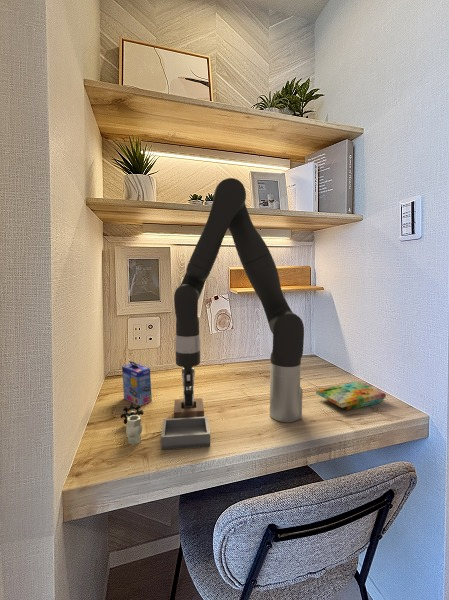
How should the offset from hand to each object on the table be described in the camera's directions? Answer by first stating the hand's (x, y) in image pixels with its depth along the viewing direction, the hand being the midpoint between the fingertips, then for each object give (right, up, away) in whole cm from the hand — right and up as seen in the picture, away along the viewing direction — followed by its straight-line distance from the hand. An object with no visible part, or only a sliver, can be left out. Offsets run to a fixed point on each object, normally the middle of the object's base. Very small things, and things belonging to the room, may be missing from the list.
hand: (188, 399), depth 96 cm
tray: (+1, -7, -11) cm, 13 cm away
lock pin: (0, -6, +1) cm, 6 cm away
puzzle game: (+55, -5, +12) cm, 56 cm away
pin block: (0, -6, +1) cm, 6 cm away
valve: (-14, -7, -9) cm, 18 cm away
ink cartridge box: (-20, -5, +13) cm, 24 cm away
